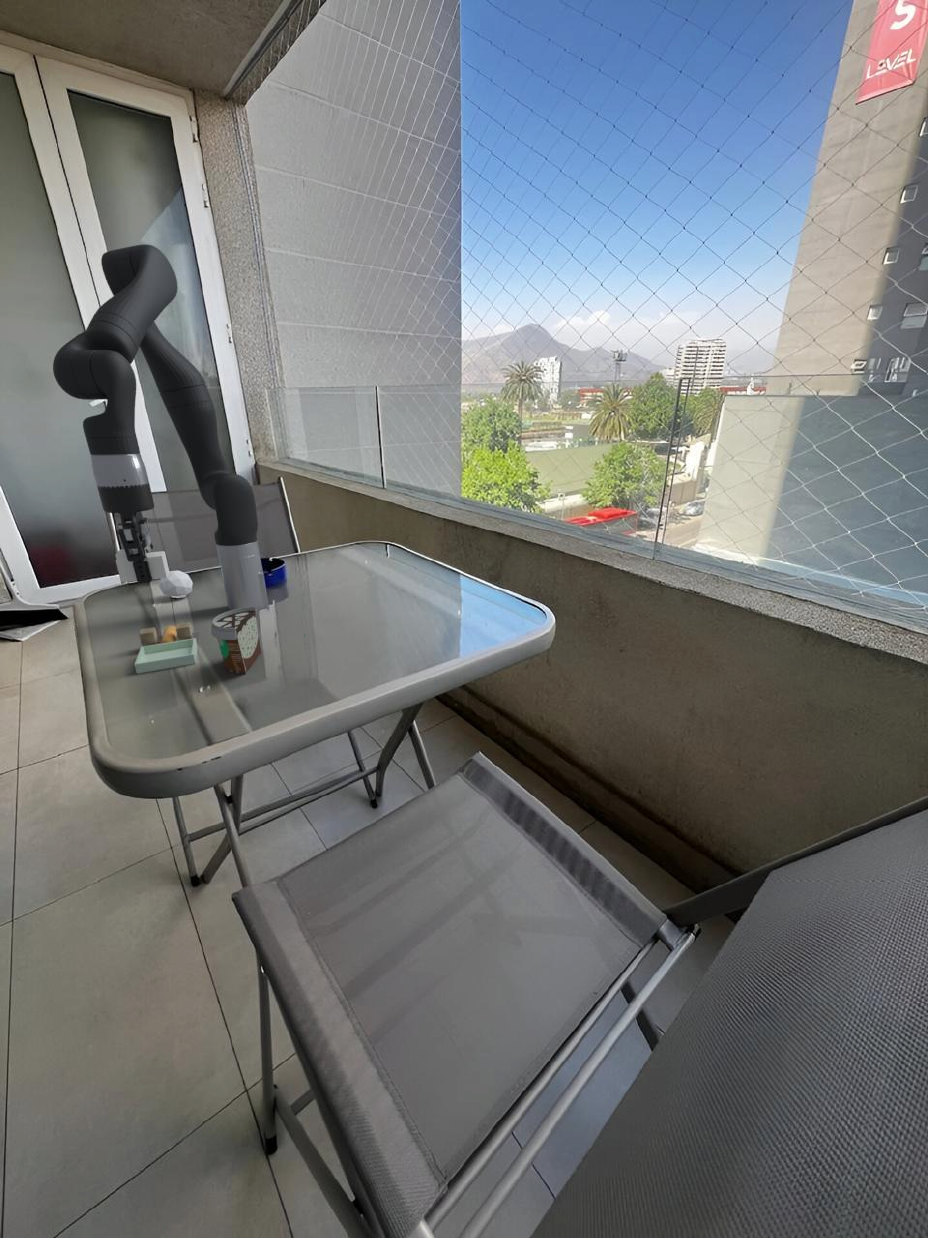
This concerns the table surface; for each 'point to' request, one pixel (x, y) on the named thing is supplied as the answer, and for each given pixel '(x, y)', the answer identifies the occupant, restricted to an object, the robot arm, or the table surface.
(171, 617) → the table surface
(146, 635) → the tan blocks
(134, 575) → the white notched block
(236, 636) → the food container
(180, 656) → the tray
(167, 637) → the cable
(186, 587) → the ball
